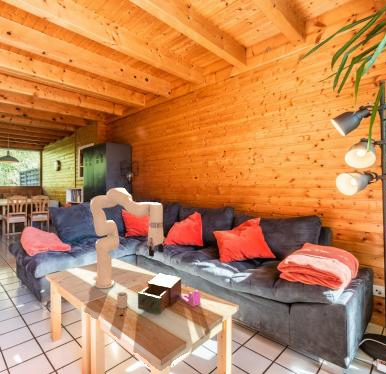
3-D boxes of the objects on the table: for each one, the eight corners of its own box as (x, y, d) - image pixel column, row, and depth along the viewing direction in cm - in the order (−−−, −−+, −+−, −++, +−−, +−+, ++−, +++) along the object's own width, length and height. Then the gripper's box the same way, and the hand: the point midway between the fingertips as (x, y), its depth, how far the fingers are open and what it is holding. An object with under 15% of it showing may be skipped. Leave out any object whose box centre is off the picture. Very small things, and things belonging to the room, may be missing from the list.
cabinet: (170, 306, 142) (170, 287, 142) (147, 300, 149) (147, 282, 149) (181, 295, 156) (181, 278, 156) (159, 290, 163) (159, 273, 163)
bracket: (200, 304, 145) (200, 292, 145) (192, 306, 142) (192, 294, 142) (185, 295, 156) (185, 284, 156) (178, 297, 153) (178, 286, 152)
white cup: (115, 306, 142) (115, 295, 142) (121, 302, 147) (121, 291, 146) (123, 309, 139) (123, 297, 139) (129, 304, 144) (129, 293, 144)
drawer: (156, 318, 128) (156, 301, 128) (133, 312, 134) (133, 295, 134) (171, 302, 145) (171, 287, 144) (150, 297, 151) (150, 282, 151)
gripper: (159, 222, 156) (159, 249, 157) (141, 226, 142) (142, 256, 143) (169, 223, 152) (169, 251, 153) (153, 227, 138) (153, 259, 138)
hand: (156, 254), depth 148 cm, fingers open, 9 cm apart
